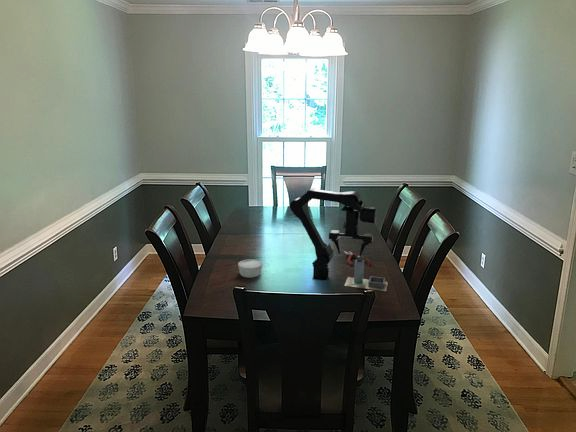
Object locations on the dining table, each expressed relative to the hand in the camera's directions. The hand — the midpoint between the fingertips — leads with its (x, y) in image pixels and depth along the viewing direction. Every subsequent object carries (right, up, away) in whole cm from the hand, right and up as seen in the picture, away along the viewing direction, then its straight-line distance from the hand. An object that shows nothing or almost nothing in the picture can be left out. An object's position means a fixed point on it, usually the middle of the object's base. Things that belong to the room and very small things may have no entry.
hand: (350, 255), depth 202 cm
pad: (+4, -13, +2) cm, 13 cm away
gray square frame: (+12, -13, 0) cm, 18 cm away
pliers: (+8, -6, +31) cm, 33 cm away
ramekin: (-45, -10, +11) cm, 47 cm away
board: (+7, -13, +1) cm, 15 cm away
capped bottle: (+4, -12, +2) cm, 13 cm away
